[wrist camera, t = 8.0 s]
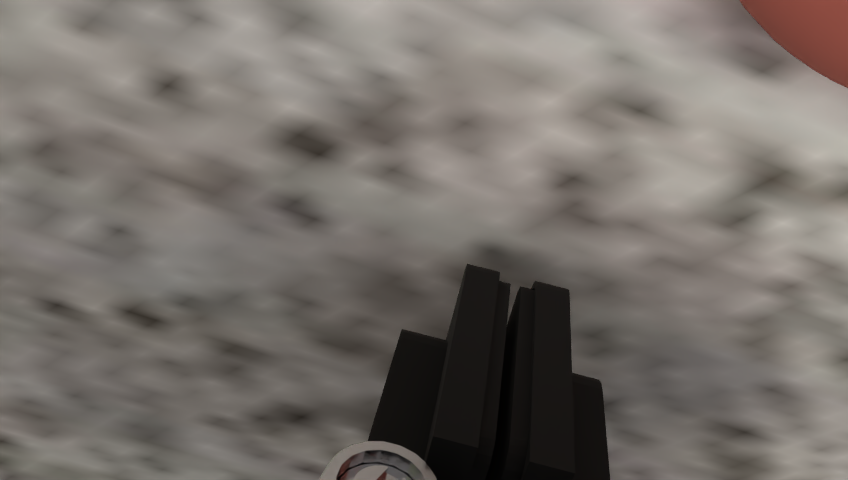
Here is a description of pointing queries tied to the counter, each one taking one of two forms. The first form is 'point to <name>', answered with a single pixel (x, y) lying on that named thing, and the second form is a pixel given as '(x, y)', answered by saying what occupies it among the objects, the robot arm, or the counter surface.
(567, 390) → the robot arm
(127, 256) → the counter surface
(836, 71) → the ball
